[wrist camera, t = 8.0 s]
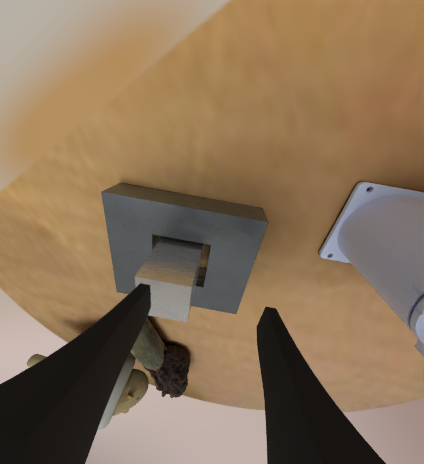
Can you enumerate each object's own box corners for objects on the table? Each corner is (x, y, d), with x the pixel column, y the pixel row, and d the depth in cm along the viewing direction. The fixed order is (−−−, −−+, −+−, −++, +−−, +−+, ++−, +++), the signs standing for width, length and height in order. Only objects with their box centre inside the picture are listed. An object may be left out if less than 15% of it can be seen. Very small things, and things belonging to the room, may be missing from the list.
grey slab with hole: (262, 208, 18) (267, 222, 15) (235, 293, 24) (236, 314, 21) (120, 182, 18) (101, 191, 15) (129, 274, 24) (116, 291, 21)
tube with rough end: (122, 309, 28) (98, 347, 23) (160, 302, 27) (144, 341, 22) (170, 369, 36) (160, 407, 31) (202, 366, 34) (197, 406, 29)
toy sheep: (154, 364, 35) (125, 454, 25) (66, 339, 34) (-1, 424, 24) (166, 335, 30) (134, 433, 20) (61, 304, 28) (-26, 394, 19)
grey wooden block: (206, 230, 19) (191, 286, 13) (201, 260, 21) (187, 322, 14) (169, 224, 20) (134, 276, 13) (168, 254, 22) (138, 313, 15)
